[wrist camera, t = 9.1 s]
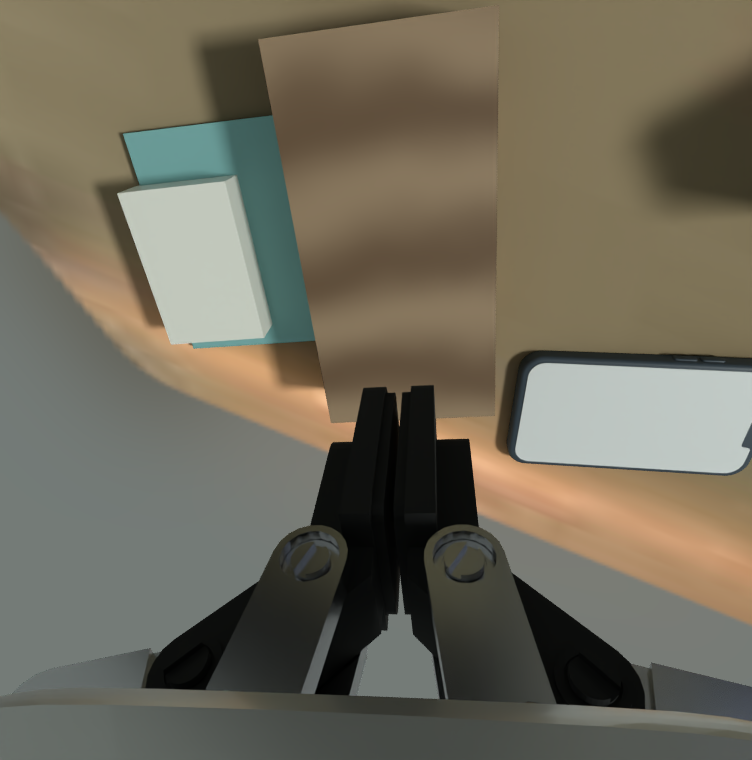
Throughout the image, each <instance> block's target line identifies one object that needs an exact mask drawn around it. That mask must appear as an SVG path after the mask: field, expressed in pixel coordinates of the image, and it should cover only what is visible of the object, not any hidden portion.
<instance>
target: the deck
mask: <svg viewBox="0 0 752 760" xmlns="http://www.w3.org/2000/svg"><path fill="white" fill-rule="evenodd" d="M258 41H259V47H260V52H261V57H262V62H263V68H264V73H265V78H266V83H267V89H268V94H269V99H270V104H271V110H272V115H273V120H274V125H275V131H276V136H277V141H278V147H279V152H280V157H281V162H282V168H283V173H284V178H285V183H286V189H287V194H288V199H289V204H290V210H291V215H292V220H293V225H294V231H295V236H296V241H297V246H298V252H299V257H300V262H301V267H302V273H303V278H304V283H305V288H306V294H307V299H308V304H309V309H310V315H311V320H312V325H313V330H314V336H315V341H316V346H317V351H318V357H319V362H320V367H321V372H322V378H323V383H324V388H325V393H326V399H327V404H328V409H329V414H330V420H331V423H343V422H356V421H357V416H358V411H359V406H360V401H361V396H362V391H363V388H369V387H387V392H388V393H394V392H395V393H396V400H397V410H398V420H400V413H401V400H402V392H411V386H419V385H434V396H435V415H436V418H457V417H479V416H495V346H496V251H497V157H498V62H499V5H494V6H487V7H480V8H473V9H466V10H459V11H452V12H445V13H438V14H431V15H424V16H417V17H410V18H403V19H396V20H389V21H382V22H375V23H368V24H361V25H354V26H347V27H340V28H333V29H326V30H319V31H312V32H305V33H298V34H292V35H285V36H278V37H271V38H264V39H258Z"/></svg>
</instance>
